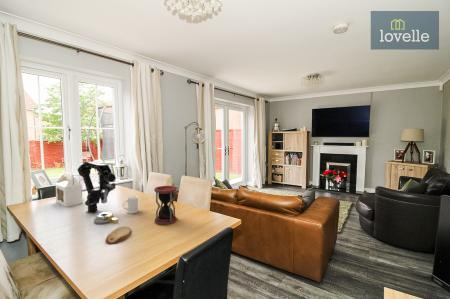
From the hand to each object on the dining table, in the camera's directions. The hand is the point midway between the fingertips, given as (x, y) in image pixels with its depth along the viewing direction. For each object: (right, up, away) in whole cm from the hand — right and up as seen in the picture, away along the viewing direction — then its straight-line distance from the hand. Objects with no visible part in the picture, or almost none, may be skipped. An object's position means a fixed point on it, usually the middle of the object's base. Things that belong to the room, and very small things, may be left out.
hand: (104, 199), depth 171 cm
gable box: (-48, -10, +29) cm, 57 cm away
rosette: (+8, -13, -11) cm, 19 cm away
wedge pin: (0, -2, 0) cm, 2 cm away
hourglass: (+51, -14, -9) cm, 54 cm away
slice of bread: (+28, -16, -34) cm, 46 cm away
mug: (+18, -12, +8) cm, 23 cm away
